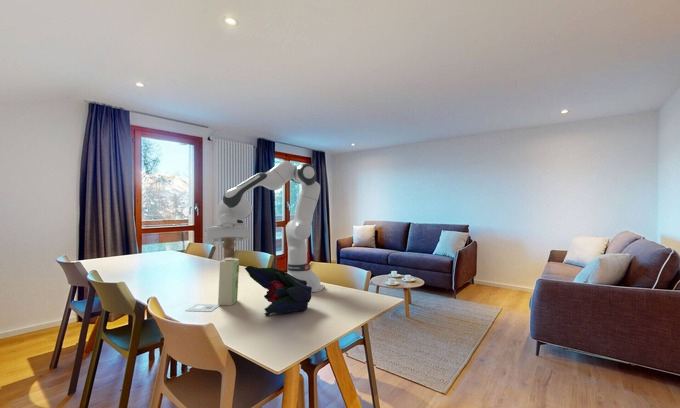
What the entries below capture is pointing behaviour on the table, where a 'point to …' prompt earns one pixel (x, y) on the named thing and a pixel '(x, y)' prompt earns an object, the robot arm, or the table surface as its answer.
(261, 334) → the table surface
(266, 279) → the decorative plant
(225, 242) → the walnut block
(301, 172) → the robot arm
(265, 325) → the table surface
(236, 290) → the tall cream box
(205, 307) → the page
